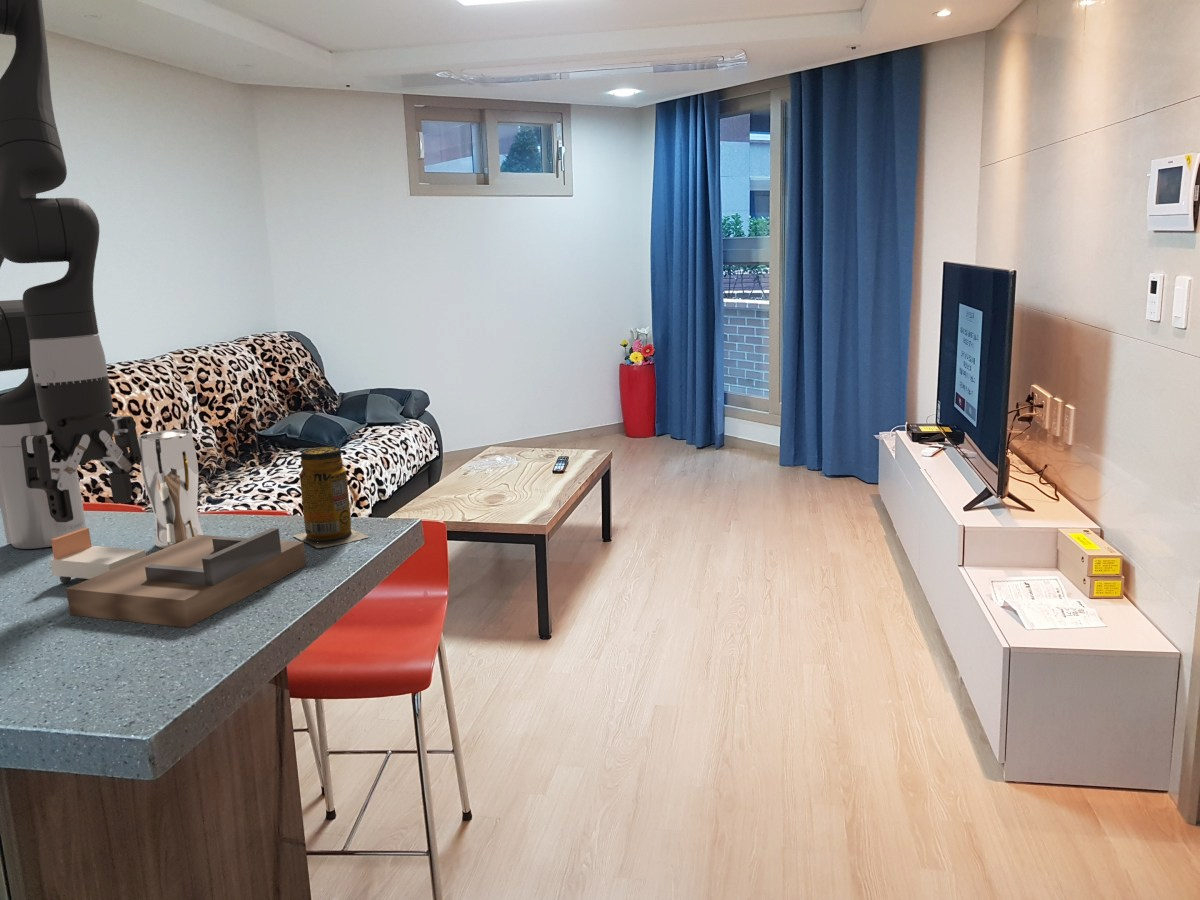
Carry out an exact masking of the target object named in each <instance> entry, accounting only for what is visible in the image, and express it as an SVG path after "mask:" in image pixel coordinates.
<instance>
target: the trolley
mask: <svg viewBox="0 0 1200 900" xmlns="http://www.w3.org/2000/svg"><path fill="white" fill-rule="evenodd" d="M51 543H52V546H51V547H52V554H53V558H50V559H49V561H50V566H51V567H50V568H51V573H52V576H55V577H59V582H61V584H68V583H70V582H71V580H72V578H77V579H86V580H88V579H91V578H93V577H96V576H98V575H101V574H103V573H106V572H108V571H110V570H113V569H115V568H118V567H120V566H123V565H125V564H128V563H130V562H133V561H135V560H137V559H140V558H142V557H145V556H147V553H146V549H139V548H126V547H125V548H124V547H113V546H112V547H111V546H100V545H99V546H98V545H92V538H91V533H90V528H89V527H86V528H83V529H80V530H77V531H74V532H71V533H68V534H65V535H62V536H60V537H57V538H54V539H51Z"/></svg>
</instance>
